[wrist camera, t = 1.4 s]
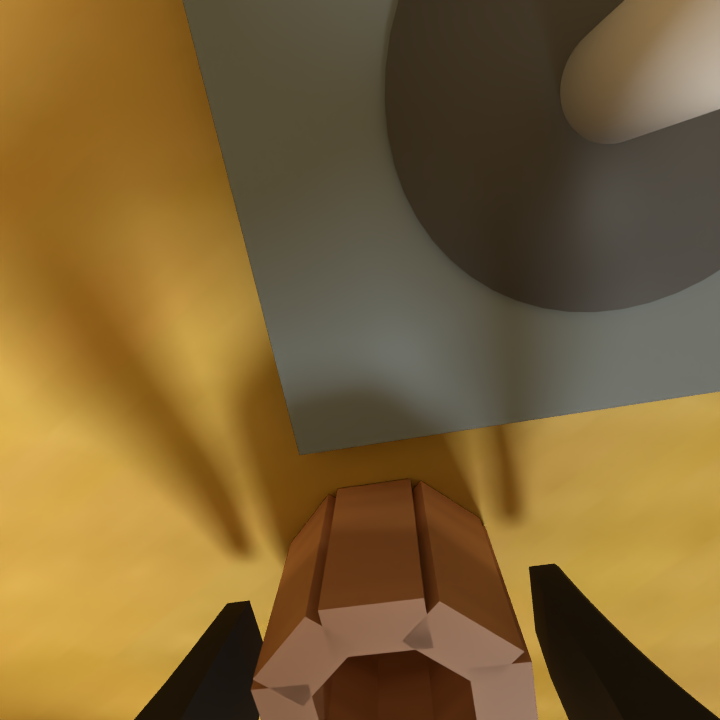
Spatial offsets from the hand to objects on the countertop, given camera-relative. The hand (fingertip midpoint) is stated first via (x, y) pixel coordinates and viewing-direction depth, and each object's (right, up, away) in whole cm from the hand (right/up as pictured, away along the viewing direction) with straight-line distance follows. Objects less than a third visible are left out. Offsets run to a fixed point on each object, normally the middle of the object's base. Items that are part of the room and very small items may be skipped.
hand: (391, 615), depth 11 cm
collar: (0, 0, +2) cm, 2 cm away
